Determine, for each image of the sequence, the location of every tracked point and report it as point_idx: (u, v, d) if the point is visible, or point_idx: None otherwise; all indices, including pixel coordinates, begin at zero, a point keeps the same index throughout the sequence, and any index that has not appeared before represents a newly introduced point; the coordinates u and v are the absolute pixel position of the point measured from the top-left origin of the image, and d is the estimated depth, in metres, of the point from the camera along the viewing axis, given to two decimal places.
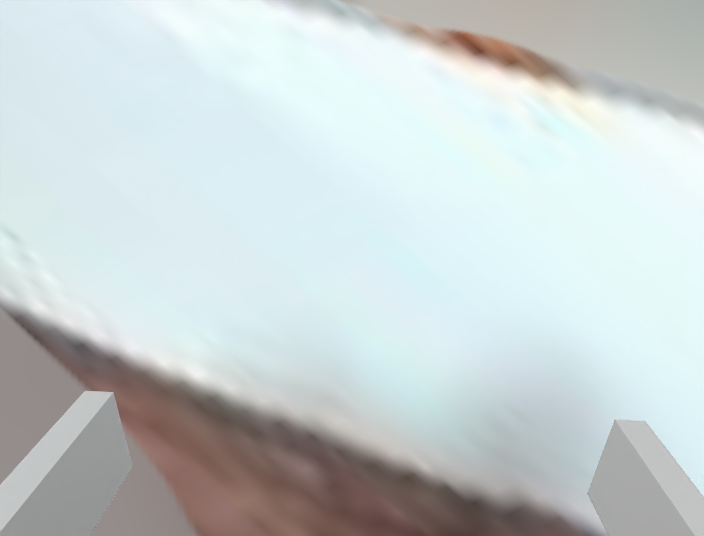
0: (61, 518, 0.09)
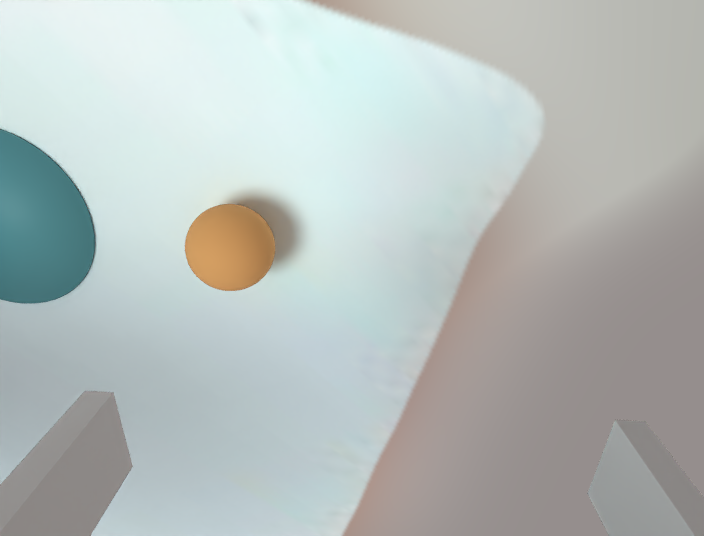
0: (61, 518, 0.09)
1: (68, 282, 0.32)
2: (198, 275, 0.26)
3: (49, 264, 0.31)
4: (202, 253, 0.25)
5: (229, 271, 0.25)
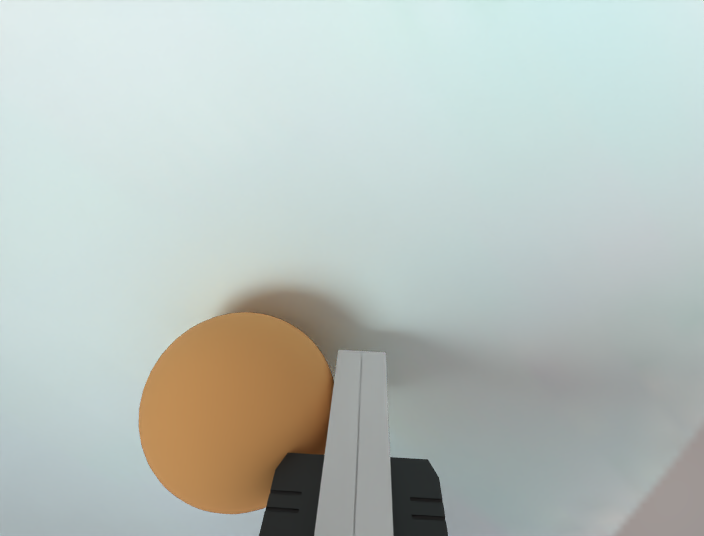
0: None
1: None
2: (167, 488, 0.11)
3: None
4: (170, 459, 0.10)
5: (236, 498, 0.10)
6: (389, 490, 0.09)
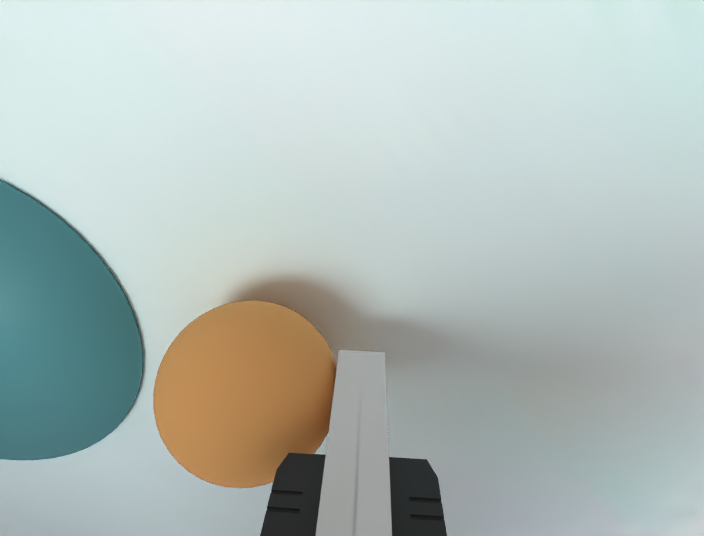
0: None
1: (93, 428, 0.18)
2: None
3: (59, 401, 0.17)
4: None
5: (174, 453, 0.12)
6: (388, 490, 0.09)
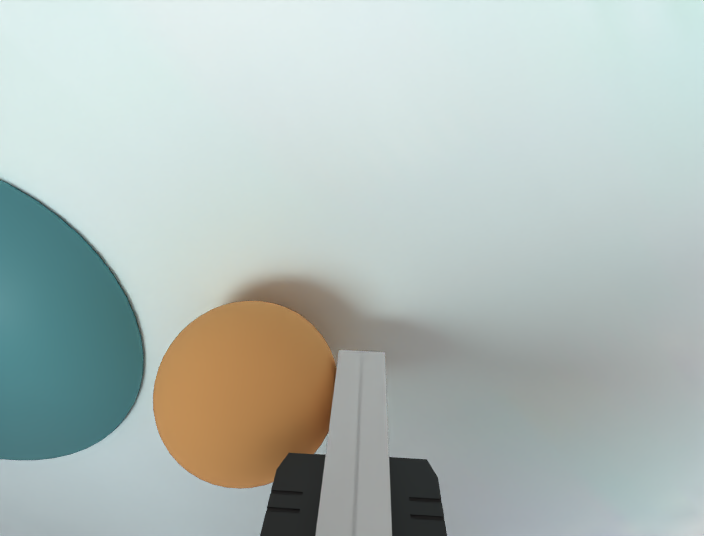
0: None
1: (93, 428, 0.18)
2: None
3: (60, 401, 0.17)
4: (153, 393, 0.12)
5: (174, 454, 0.12)
6: (388, 490, 0.09)
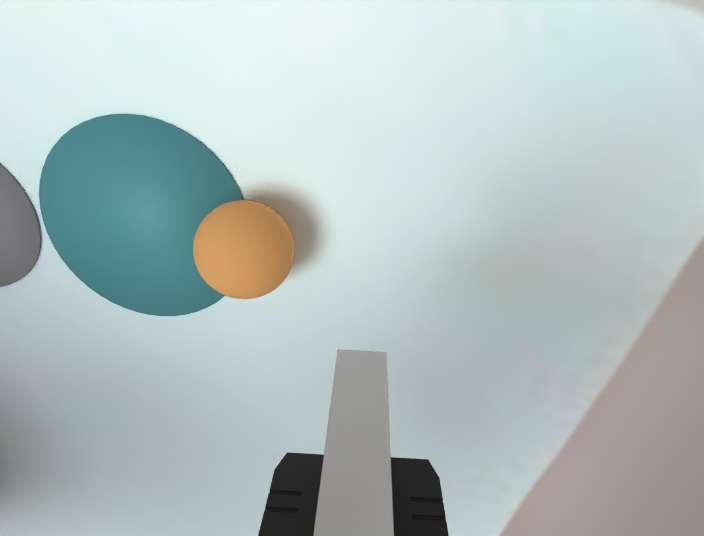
0: None
1: (214, 292, 0.28)
2: None
3: (195, 273, 0.28)
4: None
5: None
6: (390, 490, 0.09)
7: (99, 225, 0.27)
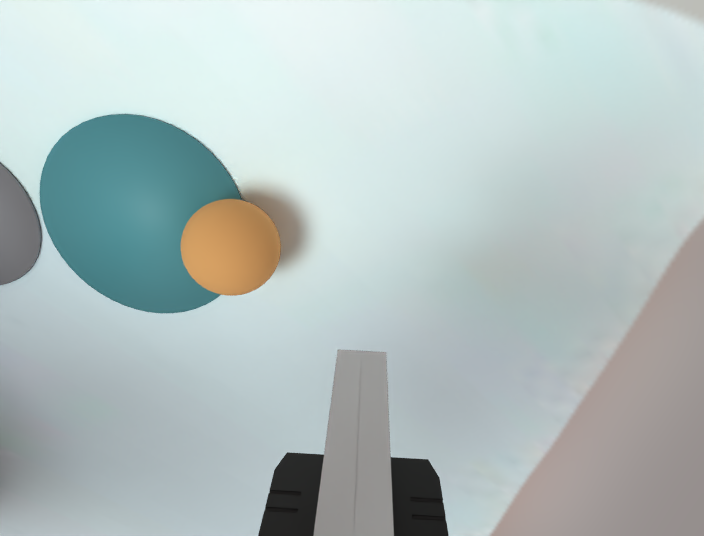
0: None
1: None
2: None
3: None
4: None
5: None
6: (390, 490, 0.09)
7: (99, 223, 0.27)
